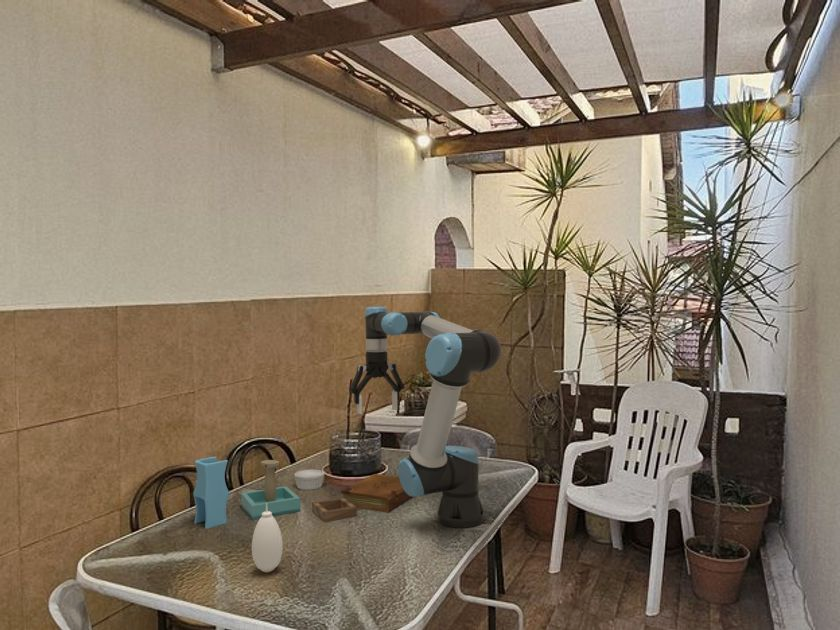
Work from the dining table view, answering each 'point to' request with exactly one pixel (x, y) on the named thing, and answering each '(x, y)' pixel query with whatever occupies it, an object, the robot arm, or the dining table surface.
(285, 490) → the parts tray
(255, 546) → the white air blower bulb
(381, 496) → the diary
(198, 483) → the blue tall hollow block
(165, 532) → the dining table surface
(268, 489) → the handle
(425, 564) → the dining table surface
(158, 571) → the dining table surface
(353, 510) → the socket
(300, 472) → the ramekin
